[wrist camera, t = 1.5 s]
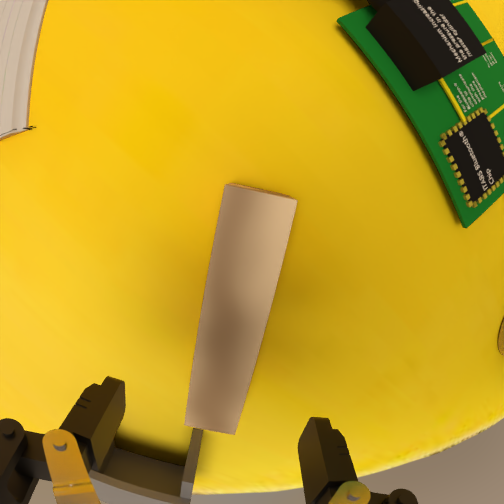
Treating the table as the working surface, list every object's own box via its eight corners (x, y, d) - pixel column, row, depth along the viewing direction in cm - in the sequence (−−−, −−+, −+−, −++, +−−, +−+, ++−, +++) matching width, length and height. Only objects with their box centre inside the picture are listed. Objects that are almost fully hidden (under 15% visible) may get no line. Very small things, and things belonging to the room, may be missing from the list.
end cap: (203, 430, 26) (192, 492, 19) (195, 472, 29) (186, 525, 21) (101, 401, 26) (71, 453, 18) (108, 448, 28) (87, 495, 20)
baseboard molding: (93, -86, 12) (21, -49, 13) (85, -97, 10) (10, -56, 10) (43, 127, 20) (-29, 155, 20) (23, 124, 17) (-47, 155, 17)
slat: (287, 195, 21) (297, 200, 16) (237, 395, 25) (234, 434, 21) (231, 182, 21) (225, 184, 16) (194, 387, 25) (184, 425, 20)
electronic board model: (579, 149, 12) (507, 242, 15) (534, 147, 19) (454, 224, 21) (385, -117, 7) (245, -100, 9) (367, -81, 13) (247, -51, 15)
